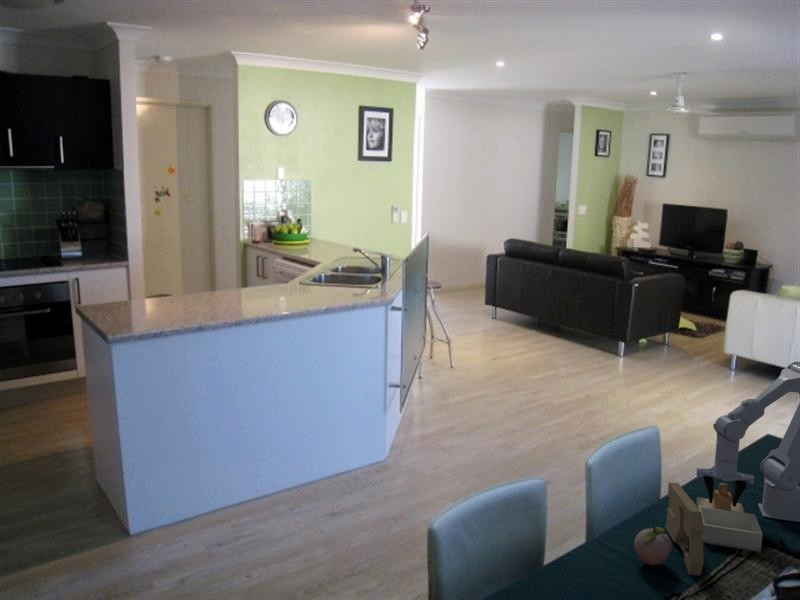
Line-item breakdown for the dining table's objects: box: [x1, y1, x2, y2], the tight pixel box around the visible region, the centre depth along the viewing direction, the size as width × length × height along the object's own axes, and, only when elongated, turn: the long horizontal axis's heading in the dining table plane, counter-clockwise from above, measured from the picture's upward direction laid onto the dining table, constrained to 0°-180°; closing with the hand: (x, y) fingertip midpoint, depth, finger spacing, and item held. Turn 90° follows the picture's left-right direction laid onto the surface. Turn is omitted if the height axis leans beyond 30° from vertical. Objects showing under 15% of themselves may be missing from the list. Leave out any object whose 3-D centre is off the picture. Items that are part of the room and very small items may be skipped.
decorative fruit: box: [633, 526, 673, 567], centre depth 162 cm, size 9×8×10 cm
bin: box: [698, 506, 764, 553], centre depth 175 cm, size 14×11×5 cm
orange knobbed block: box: [713, 482, 733, 511], centre depth 187 cm, size 4×4×8 cm
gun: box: [664, 481, 704, 576], centre depth 168 cm, size 24×3×15 cm, turn 171°
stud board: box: [695, 496, 746, 513], centre depth 188 cm, size 12×12×5 cm
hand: (722, 503), depth 187 cm, fingers open, 5 cm apart
